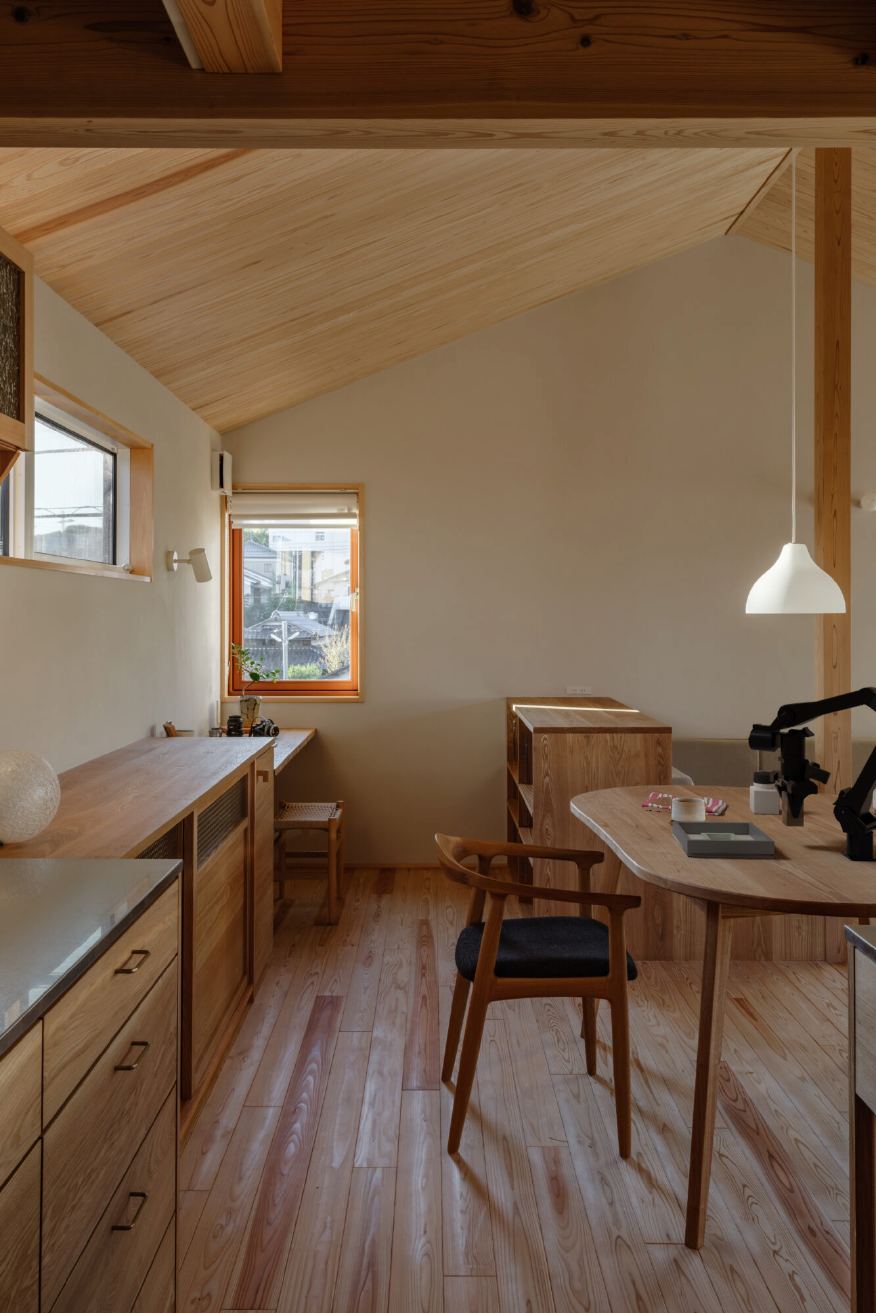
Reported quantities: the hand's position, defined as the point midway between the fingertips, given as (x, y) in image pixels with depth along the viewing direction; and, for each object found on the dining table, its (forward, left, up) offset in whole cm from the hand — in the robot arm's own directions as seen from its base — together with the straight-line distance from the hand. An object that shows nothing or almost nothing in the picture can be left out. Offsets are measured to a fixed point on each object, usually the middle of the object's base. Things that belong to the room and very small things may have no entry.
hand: (792, 816), depth 208 cm
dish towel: (+45, +18, -8) cm, 49 cm away
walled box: (-2, +18, -7) cm, 19 cm away
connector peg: (0, 0, -2) cm, 2 cm away
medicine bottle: (+40, -4, -8) cm, 41 cm away
